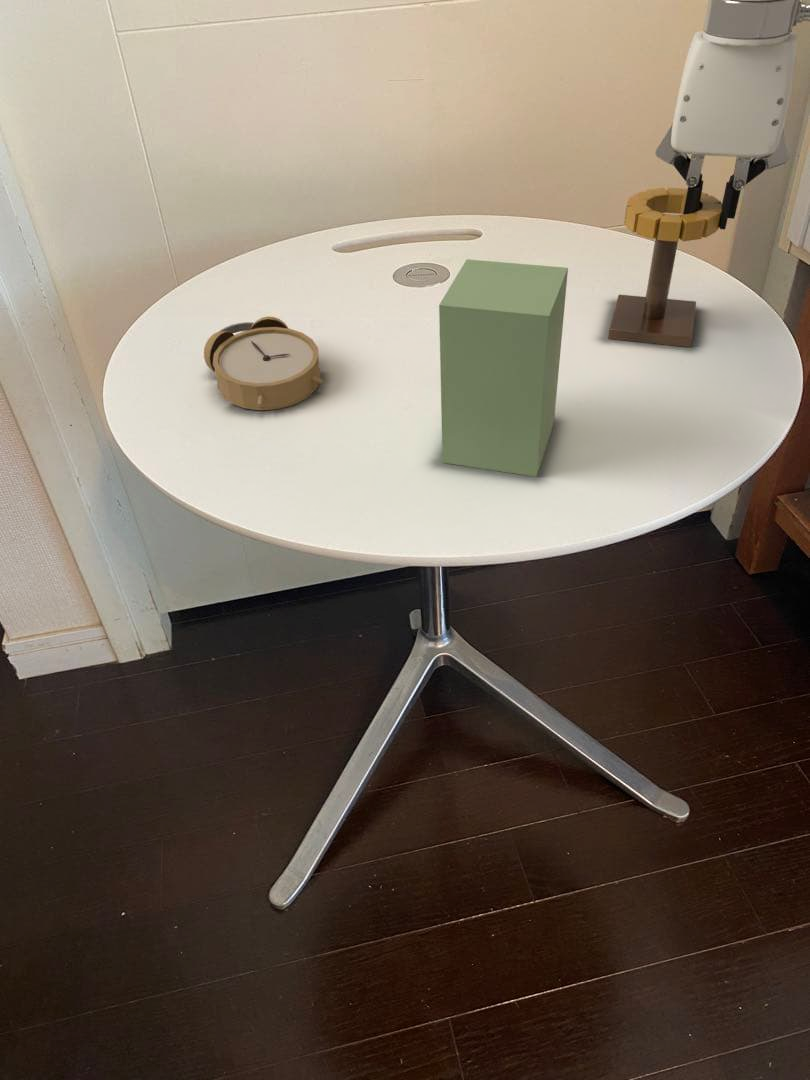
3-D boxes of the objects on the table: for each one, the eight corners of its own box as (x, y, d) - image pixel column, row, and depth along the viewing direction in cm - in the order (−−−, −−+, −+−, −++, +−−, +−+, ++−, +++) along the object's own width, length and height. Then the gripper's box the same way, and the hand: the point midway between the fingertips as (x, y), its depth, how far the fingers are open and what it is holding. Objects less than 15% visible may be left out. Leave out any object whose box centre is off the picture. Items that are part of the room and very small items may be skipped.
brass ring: (719, 209, 88) (723, 190, 87) (716, 244, 82) (721, 225, 80) (629, 203, 91) (632, 185, 89) (619, 237, 84) (622, 218, 83)
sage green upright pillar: (554, 422, 80) (568, 267, 69) (536, 477, 74) (549, 315, 63) (466, 411, 82) (466, 259, 72) (442, 462, 76) (438, 304, 65)
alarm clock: (241, 400, 80) (181, 320, 88) (246, 436, 84) (188, 357, 92) (339, 365, 85) (273, 292, 92) (339, 401, 88) (277, 327, 96)
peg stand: (694, 310, 96) (712, 224, 89) (690, 347, 90) (708, 258, 83) (617, 303, 98) (628, 219, 91) (607, 338, 92) (619, 251, 85)
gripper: (843, 10, 73) (787, 215, 86) (659, 9, 77) (632, 205, 90) (850, 28, 68) (789, 243, 80) (652, 26, 72) (624, 231, 84)
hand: (707, 221), depth 85 cm, fingers closed on brass ring, 2 cm apart
